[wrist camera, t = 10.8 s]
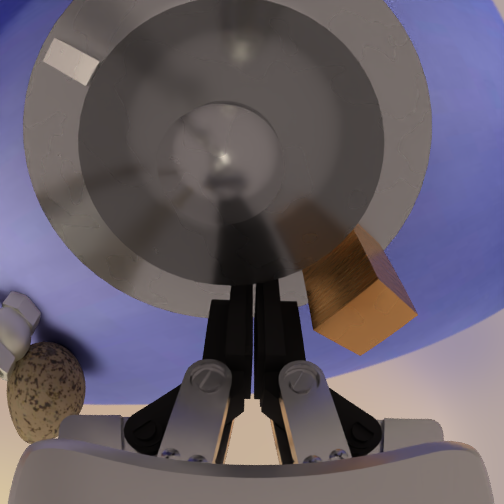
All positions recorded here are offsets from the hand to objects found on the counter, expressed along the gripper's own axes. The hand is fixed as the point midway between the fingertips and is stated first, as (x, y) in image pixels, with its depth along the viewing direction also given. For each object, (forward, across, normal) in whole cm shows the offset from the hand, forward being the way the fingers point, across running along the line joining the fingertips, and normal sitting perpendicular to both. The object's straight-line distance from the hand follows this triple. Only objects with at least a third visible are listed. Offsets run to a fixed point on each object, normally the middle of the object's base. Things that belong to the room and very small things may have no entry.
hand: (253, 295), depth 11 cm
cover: (+1, +1, -6) cm, 6 cm away
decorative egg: (+4, +17, +12) cm, 21 cm away
